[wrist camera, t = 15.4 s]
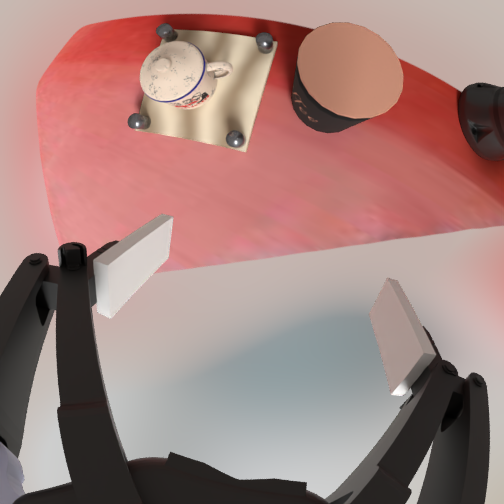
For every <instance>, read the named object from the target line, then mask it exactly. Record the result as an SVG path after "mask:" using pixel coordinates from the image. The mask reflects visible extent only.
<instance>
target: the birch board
mask: <svg viewBox="0 0 504 504" xmlns="http://www.w3.org/2000/svg"><path fill="white" fill-rule="evenodd" d="M175 31H176V32H177V34H178V37H177V39H176V40H175V41H184V42H189V43H191V44H193V45H195V46H196V47H198V48H199V49H200V50H201V52H202V54H203V56H204V58H205V59H206V60H207V62H208V63H210V62H217V61H224V62H229V63H231V64H232V66H233V72H232V73H231V74H230V75H229V76H227V77H224V78H219V79H217V87H216V90H215V93H214V94H213V96H212V97H211V99H210V100H209V101H208V102H206V103H205V104H204V105H202V106H200V107H198V108H195V109H189V110H185V109H179V108H177V107H174V106H172V105H169V104H167V103H164V102H158V101H155V100H153V99H151V98H149V97H148V96H147V95H146V94H145V93H144V97H143V100H142V104H141V108H140V112H139V114H141V115H145V116H148V117H149V118H150V119H151V124H150V126H149V128H147V129H145V130H141V129H135V130H136V131H143V132H149V133H156V134H162V135H167V136H173V137H178V138H184V139H189V140H194V141H199V142H204V143H208V144H213V145H217V146H222V147H226V148H230V149H234V150H239V151H243V152H247V149H248V145H249V142H250V138H251V134H252V131H253V127H254V124H255V120H256V117H257V113H258V109H259V106H260V103H261V99H262V96H263V92H264V89H265V85H266V82H267V79H268V75H269V72H270V69H271V65H272V62H273V59H274V56H275V52H276V49H277V46H278V42H275V41H273V51H272V52H270V53H268V54H263V53H261V52H259V50H258V48H257V44H256V38H255V37H249V36H242V35H235V34H228V33H219V32H208V31H195V30H175ZM165 43H168V42H166V41H165V40H163V39H162V41H161V44H160V46H161V45H163V44H165ZM215 71H220V70H215ZM233 130H236V131H239V132H241V133H242V134H244V135H245V137H246V143H245V145H244V146H243V147H241V148H234V147H231V146H229V145H228V144H227V142H226V135H227V134H228V133H229V132H230V131H233Z"/></svg>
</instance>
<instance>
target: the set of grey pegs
mask: <svg viewBox="0 0 504 504" xmlns="http://www.w3.org/2000/svg"><path fill="white" fill-rule="evenodd" d="M156 33H157V34H158V35H159V36H160V37H161V38H162V39H163V40H165V41H166V42H172V41H175V40H176V39H177V37H178V34H177V32H176V31H175V30H174V29H173V28H172V27H171V26H170V25H169V24H167V23H164V24H161V25H160V26H159V27H158V28H157V30H156ZM256 44H257V48H258V50H259V52H261V53H263V54H268V53H270V52H272V51H273V38H272V36H271V35H270V34H269V33H265V32H263V33H260V34H258V35H257V36H256ZM150 124H151V119H150V118H149V117H148V116H145V115H141V114H137V113H134V114H132V115H131V116H130V117H129V119H128V125H129V127H130V128H134V129H141V130H145V129H147V128H149V126H150ZM226 142H227V144H228V145H229V146H231V147H234V148H241V147H243V146H244V145H245V143H246V137H245V135H244V134H242V133H241V132H239V131H236V130H233V131H230V132H229V133H228V134H227V135H226Z"/></svg>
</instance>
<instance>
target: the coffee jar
mask: <svg viewBox="0 0 504 504" xmlns="http://www.w3.org/2000/svg"><path fill="white" fill-rule="evenodd" d="M402 89H403V72H402V68H401V65H400V61H399V59H398V57H397V56H396V54H395V53H394V51H393V49H392V48H391V46H390V45H389V44H388V43H386V41H384V40H383V39H382V38H381V37H380V36H379V35H377V34H376V33H374V32H372V31H370V30H369V29H367V28H365V27H362V26H359V25H355V24H351V23H329V24H326V25H323V26H320V27H317V28H316V29H315V30H313V31H312V32H311V33H309V34H308V35H307V36H306V37H305V39H304V40H303V42H302V44H301V46H300V47H299V52H298V57H297V64H296V70H295V77H294V83H293V90H292V97H291V99H292V104H293V109H294V110H295V112H296V114H297V116H298V117H299V119H301V120H302V121H303V122H304V123H305V124H306V125H307V126H309V127H311V128H312V129H314V130H316V131H320V132H325V133H334V132H340V131H342V130H344V129H347V128H349V127H351V126H354V125H356V124H358V123H361V122H363V121H366V120H368V119H370V118H373V117H375V116H378V115H380V114H382V113H385V112H387V111H388V110H389V109H390V108H391V107H392V106H393V105H394V104H395V103H396V102H397V100H398V98H399V96H400V94H401V92H402Z"/></svg>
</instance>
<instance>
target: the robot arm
mask: <svg viewBox="0 0 504 504" xmlns="http://www.w3.org/2000/svg"><path fill="white" fill-rule="evenodd" d="M459 119H460V124H461V128H462V131H463V133H464V136H465V138H466V140H467V142H468V143H469V145H470V146H471V148H472V149H473V150H474V151H475V152H476V153H477V154H478V155H479V156H480V157H482V158H484V159H486V160H492V161H501V160H504V87H498V86H495V85H491V84H487V83H475V84H471V85H469V86H467V87H466V88H465V89H464V90H463V92H462V93H461V96H460V99H459ZM172 225H173V216H169V215H165V214H161V215H159V216H158V217H156V218H154V219H153V220H151V221H150V222H148V223H147V224H145V225H144V226H142V227H140V228H139V229H137V230H136V231H134V232H133V233H131V234H130V235H128V236H127V237H125V238H124V239H122V240H121V241H120V242H119V241H113V242H109V243H107V244H105V245H104V246H102V247H101V248H99V249H98V250H96V251H95V252H94V253H92V254H91V255H89V256H88V257H87V250H86V246H85V245H83V244H81V243H78V242H71V243H66V244H63V245H62V246H60V247H59V249H58V257H59V266H60V267H58V266H53V265H49V262H48V257H47V256H46V255H44V254H41V253H34V254H31V255H29V256H27V257H26V258H25V259H24V260H23V262H22V263H21V265H20V266H19V267H18V269H17V270H16V272H15V274H14V275H13V276H12V278H11V280H10V281H9V283H8V285H7V286H6V287H5V289H4V291H3V292H2V294H1V296H0V504H405V503H406V502H407V500H408V499H409V497H410V495H411V489H409V488H408V486H409V484H410V482H411V481H412V479H413V477H414V475H415V474H416V472H417V470H418V468H419V467H420V465H421V463H422V461H423V459H424V457H425V455H426V454H427V452H428V450H429V448H430V446H431V443H432V441H433V445H432V449H431V454H430V459H429V463H428V468H427V471H426V475H425V479H424V482H423V486H422V489H421V493H420V496H419V499H418V502H417V504H484V503H485V497H486V489H487V481H488V470H489V451H490V450H489V449H490V424H489V407H488V406H489V405H488V394H487V386H486V382H485V381H484V378H483V377H482V376H481V375H479V374H477V373H471V374H470V375H469V376H468V377H467V378H466V379H464V378H462V377H459V376H458V372H457V369H456V368H455V367H454V365H452V364H451V363H450V362H448V361H445V360H442V358H441V356H440V354H439V352H438V349H437V347H436V346H435V343H434V341H433V340H432V337H431V335H430V334H429V332H428V331H427V330H426V329H425V327H424V326H422V325H421V323H420V321H419V319H418V317H417V315H416V313H415V311H414V309H413V307H412V305H411V304H410V302H409V300H408V298H407V296H406V295H405V293H404V291H403V289H402V288H401V286H400V284H399V282H398V281H397V280H394V279H390V278H387V279H386V281H385V283H384V285H383V288H382V289H381V291H380V293H379V295H378V297H377V300H376V301H375V303H374V305H373V307H372V309H371V311H370V313H369V316H370V320H371V323H372V326H373V329H374V333H375V336H376V339H377V343H378V346H379V350H380V354H381V357H382V361H383V365H384V368H385V372H386V376H387V380H388V384H389V388H390V392H391V395H400V396H404V395H405V394H406V392H407V391H408V390H409V389H410V388H411V390H412V393H413V394H412V395H411V396H410V397H409V398H408V399H407V400H406V401H405V402H404V404H403V405H402V406H401V407H400V409H401V410H400V412H399V414H398V415H397V416H396V418H395V420H394V421H393V422H392V424H391V425H390V426H389V428H388V429H387V431H386V432H385V433H384V435H383V436H382V437H381V439H380V440H379V441H378V443H377V444H376V445H375V446H374V448H373V449H372V450H371V451H370V453H369V454H368V455H367V457H366V458H365V459H364V460H363V461H362V462H361V463H360V465H359V466H358V467H357V468H356V469H355V470H354V471H353V473H352V474H351V475H350V476H349V477H348V478H347V479H346V480H345V481H344V483H342V484H341V486H340V487H339V488H338V489H337V490H336V491H335V492H333V493H332V494H331V495H330V496H328V497H327V498H326V499H323V498H322V497H320V496H318V495H317V494H314V493H312V492H310V491H308V490H306V486H307V483H306V482H297V481H289V480H281V479H255V480H239V479H235V478H233V477H231V476H229V475H227V474H225V473H223V472H221V471H219V470H217V469H215V468H212V467H211V466H209V465H207V464H205V463H203V462H200V461H196V460H193V459H190V458H187V457H184V456H181V455H178V454H175V453H172V452H170V454H169V456H168V458H158V457H149V458H140V459H135V460H131V461H128V460H127V457H126V455H125V452H124V449H123V447H122V444H121V441H120V438H119V435H118V432H117V429H116V426H115V422H114V419H113V415H112V412H111V409H110V405H109V401H108V397H107V393H106V389H105V384H104V380H103V375H102V371H101V366H100V361H99V355H98V350H97V344H96V338H95V331H94V324H93V315H92V308H91V307H92V306H93V305H94V304H95V303H97V311H98V313H100V314H102V315H104V316H106V317H108V318H112V317H113V316H114V315H115V314H116V312H117V311H118V310H119V309H120V308H121V307H122V306H123V305H124V304H125V303H126V302H127V301H128V300H129V298H130V297H131V296H132V295H133V294H134V293H135V292H136V291H137V290H138V289H139V288H140V287H141V286H142V285H143V284H144V283H145V281H146V280H147V279H148V278H149V277H150V276H151V275H152V274H153V273H154V272H155V271H156V270H157V269H158V268H159V267H160V266H161V265H162V264H163V263H164V262H165V261H166V260H167V259H168V258H169V250H170V241H171V233H172ZM54 310H56V357H57V374H58V385H59V395H60V407H58V409H57V414H58V422H59V428H60V434H61V439H62V444H63V449H64V453H65V458H66V462H67V466H68V470H69V474H70V477H71V480H72V482H69V483H66V484H63V485H59V486H56V487H52V488H48V489H44V490H40V491H35V492H31V493H27V494H25V492H24V490H23V487H22V483H23V481H24V475H23V470H22V466H21V464H20V461H19V460H18V456H19V452H20V449H21V445H22V439H23V433H24V425H25V419H26V413H27V407H28V402H29V397H30V392H31V388H32V384H33V379H34V375H35V371H36V367H37V364H38V360H39V356H40V353H41V350H42V346H43V343H44V340H45V337H46V334H47V331H48V328H49V324H50V322H51V319H52V316H53V313H54Z"/></svg>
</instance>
